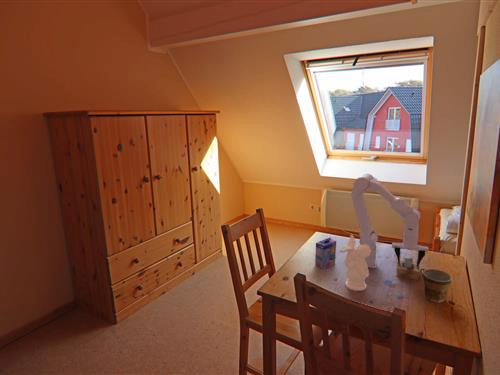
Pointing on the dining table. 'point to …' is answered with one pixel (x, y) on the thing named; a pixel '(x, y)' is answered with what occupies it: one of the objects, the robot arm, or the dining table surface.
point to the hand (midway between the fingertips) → (408, 264)
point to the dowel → (408, 262)
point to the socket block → (408, 271)
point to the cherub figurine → (356, 265)
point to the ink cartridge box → (325, 253)
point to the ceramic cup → (436, 284)
